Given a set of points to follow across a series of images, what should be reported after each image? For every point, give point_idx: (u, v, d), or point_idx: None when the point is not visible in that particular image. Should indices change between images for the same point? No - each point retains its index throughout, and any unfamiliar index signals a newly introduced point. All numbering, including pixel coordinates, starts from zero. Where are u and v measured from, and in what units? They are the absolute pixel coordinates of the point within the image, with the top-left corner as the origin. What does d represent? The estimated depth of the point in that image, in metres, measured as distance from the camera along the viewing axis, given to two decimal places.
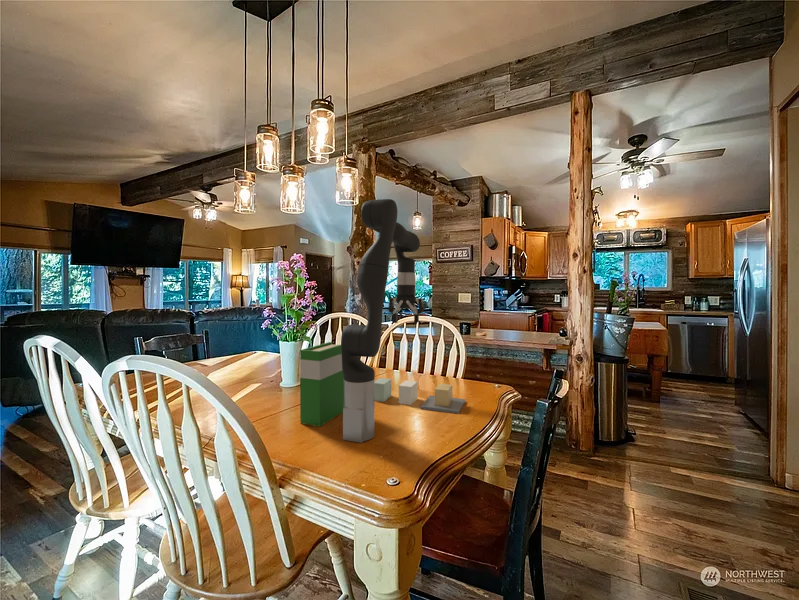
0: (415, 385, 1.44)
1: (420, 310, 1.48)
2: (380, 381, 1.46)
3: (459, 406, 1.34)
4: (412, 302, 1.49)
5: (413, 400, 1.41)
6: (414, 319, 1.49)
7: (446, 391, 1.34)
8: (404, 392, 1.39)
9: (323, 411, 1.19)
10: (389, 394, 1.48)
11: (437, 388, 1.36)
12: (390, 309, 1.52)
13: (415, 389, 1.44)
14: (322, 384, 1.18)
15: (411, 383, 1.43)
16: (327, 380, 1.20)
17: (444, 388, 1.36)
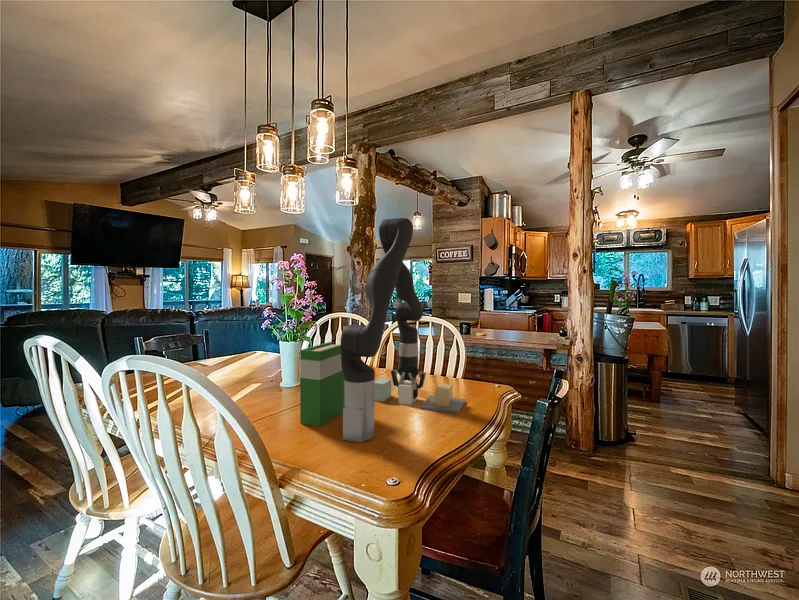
0: None
1: (419, 385, 1.40)
2: (380, 381, 1.46)
3: (459, 406, 1.34)
4: (414, 376, 1.41)
5: (413, 400, 1.41)
6: (413, 394, 1.41)
7: (446, 391, 1.34)
8: (404, 392, 1.39)
9: (323, 411, 1.19)
10: (389, 394, 1.48)
11: (437, 388, 1.36)
12: (395, 383, 1.43)
13: None
14: (323, 384, 1.18)
15: (411, 383, 1.43)
16: (327, 380, 1.20)
17: (444, 388, 1.36)
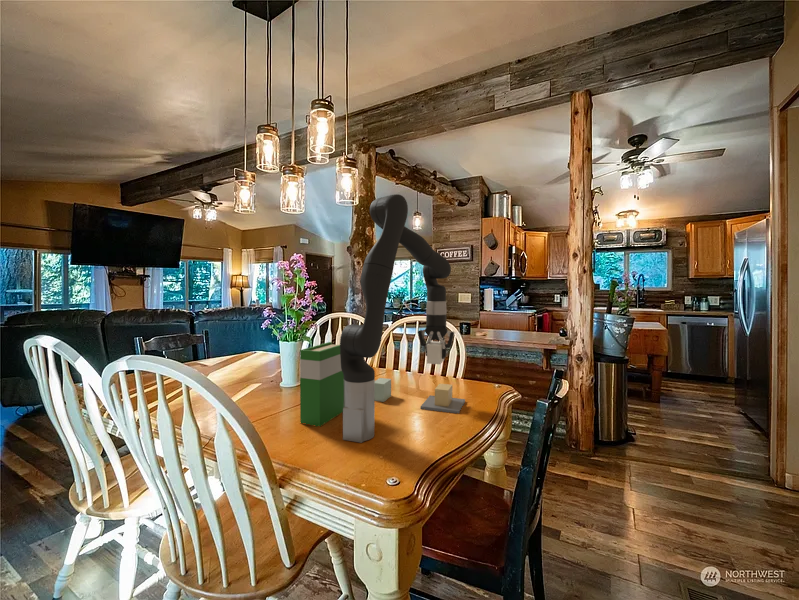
0: None
1: (448, 344, 1.36)
2: (380, 381, 1.46)
3: (459, 406, 1.34)
4: (443, 335, 1.37)
5: (441, 360, 1.38)
6: (442, 354, 1.37)
7: (446, 391, 1.34)
8: (433, 351, 1.35)
9: (323, 411, 1.19)
10: (389, 394, 1.48)
11: (437, 388, 1.36)
12: (422, 343, 1.39)
13: None
14: (322, 384, 1.18)
15: (439, 343, 1.39)
16: (327, 380, 1.20)
17: (444, 388, 1.36)
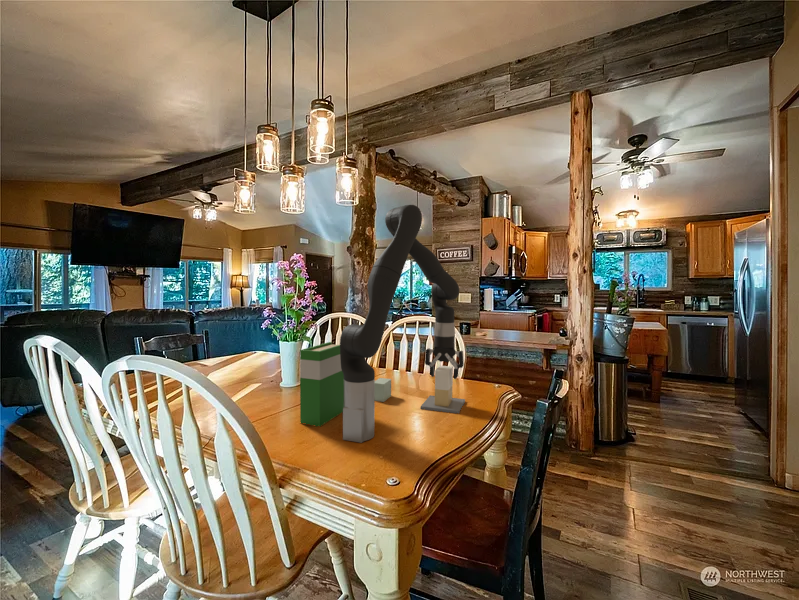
0: (451, 370, 1.39)
1: (461, 364, 1.35)
2: (380, 381, 1.46)
3: (459, 406, 1.34)
4: (451, 355, 1.36)
5: (450, 385, 1.36)
6: (454, 374, 1.36)
7: (446, 391, 1.34)
8: (441, 377, 1.34)
9: (323, 411, 1.19)
10: (389, 394, 1.48)
11: None
12: (426, 362, 1.39)
13: (451, 374, 1.39)
14: (323, 384, 1.18)
15: (447, 368, 1.38)
16: (327, 380, 1.20)
17: None
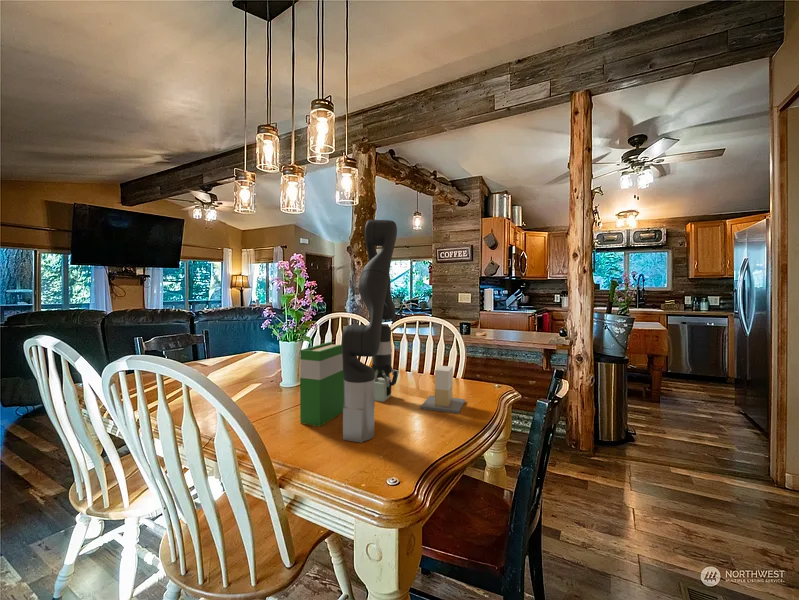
0: (451, 370, 1.39)
1: (392, 382, 1.44)
2: (380, 381, 1.46)
3: (459, 406, 1.34)
4: (387, 373, 1.44)
5: (450, 385, 1.36)
6: None
7: (446, 391, 1.34)
8: (441, 377, 1.34)
9: (323, 411, 1.19)
10: None
11: None
12: None
13: (451, 374, 1.39)
14: (322, 384, 1.18)
15: (447, 368, 1.38)
16: (327, 380, 1.20)
17: None
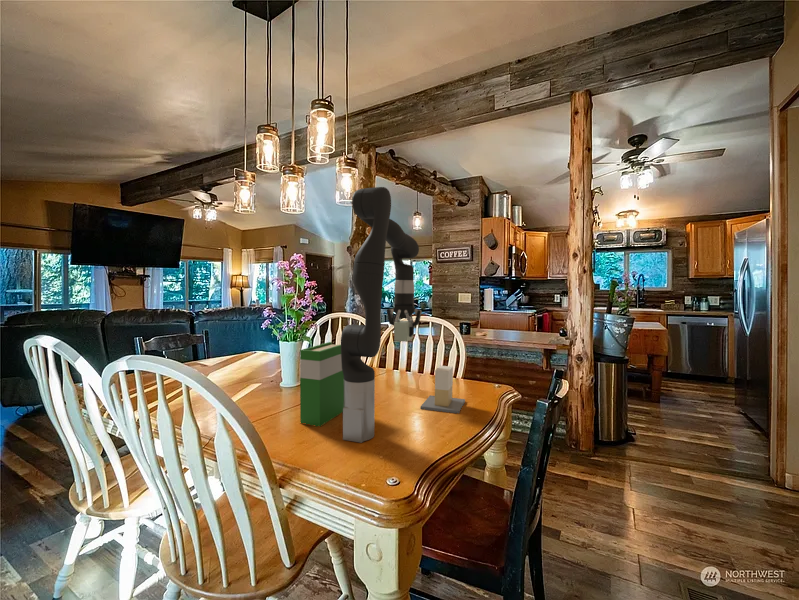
0: (451, 370, 1.39)
1: (415, 322, 1.40)
2: None
3: (459, 406, 1.34)
4: (410, 313, 1.40)
5: (450, 385, 1.36)
6: (409, 332, 1.41)
7: (446, 391, 1.34)
8: (441, 377, 1.34)
9: (323, 411, 1.19)
10: None
11: None
12: (391, 321, 1.43)
13: (451, 374, 1.39)
14: (322, 384, 1.18)
15: (447, 368, 1.38)
16: (327, 380, 1.20)
17: None
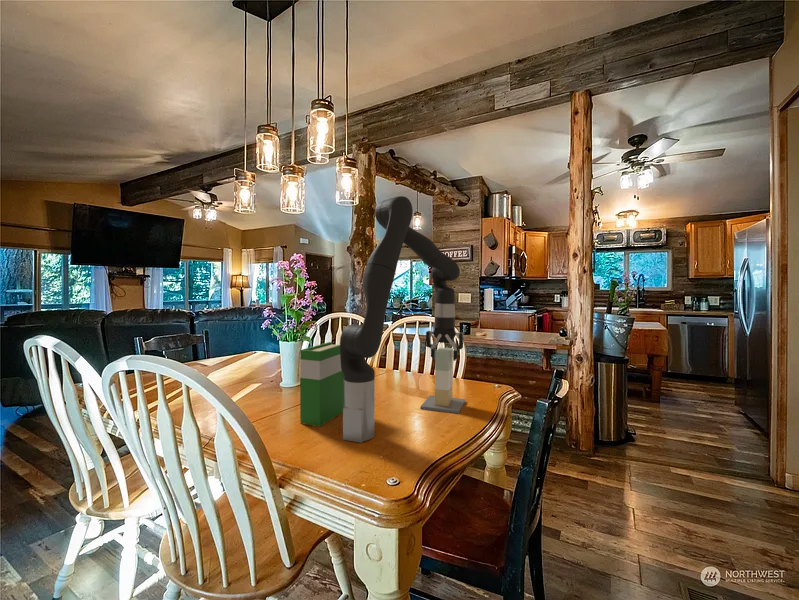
0: (451, 370, 1.39)
1: (460, 346, 1.34)
2: (443, 350, 1.37)
3: (459, 406, 1.34)
4: (452, 336, 1.35)
5: (450, 385, 1.36)
6: (453, 355, 1.35)
7: (446, 391, 1.34)
8: (441, 377, 1.34)
9: (323, 411, 1.19)
10: (451, 365, 1.40)
11: None
12: (427, 344, 1.38)
13: (451, 374, 1.39)
14: (322, 384, 1.18)
15: None
16: (327, 380, 1.20)
17: None
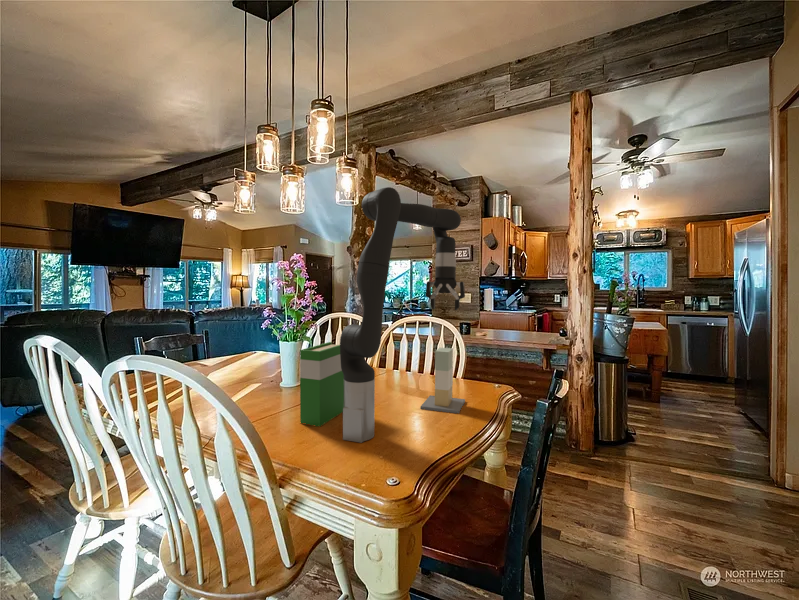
0: (451, 370, 1.39)
1: (462, 294, 1.33)
2: (443, 350, 1.37)
3: (459, 406, 1.34)
4: (453, 286, 1.35)
5: (450, 385, 1.36)
6: (455, 305, 1.35)
7: (446, 391, 1.34)
8: (441, 377, 1.34)
9: (323, 411, 1.19)
10: (451, 365, 1.40)
11: None
12: (427, 294, 1.38)
13: (451, 374, 1.39)
14: (322, 384, 1.18)
15: None
16: (327, 380, 1.20)
17: None
